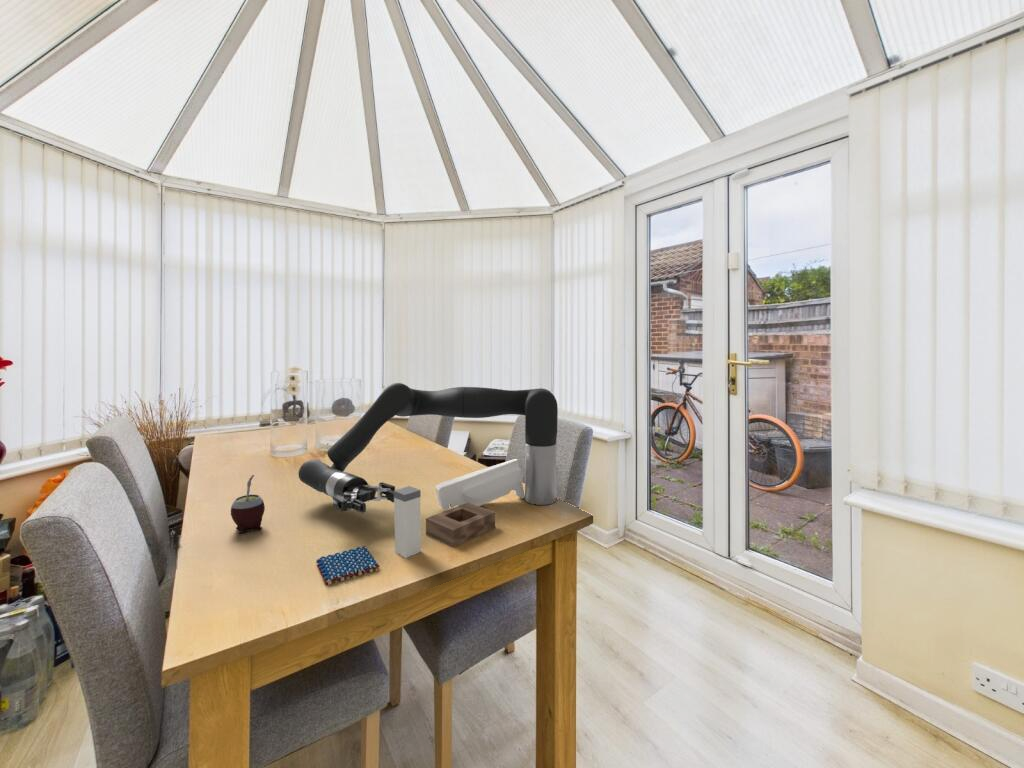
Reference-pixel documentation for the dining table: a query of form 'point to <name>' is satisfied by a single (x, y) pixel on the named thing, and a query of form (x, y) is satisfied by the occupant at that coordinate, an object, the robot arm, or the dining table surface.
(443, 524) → the brown square socket block
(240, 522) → the mate gourd
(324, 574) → the woven mat
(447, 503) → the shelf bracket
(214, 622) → the dining table surface
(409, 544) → the grey-capped white post
